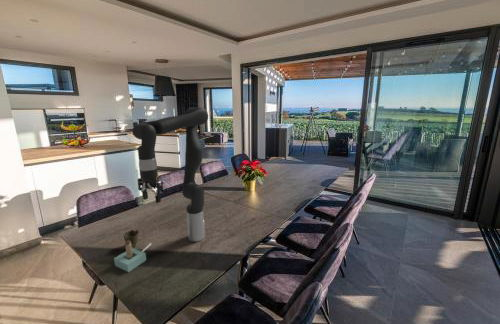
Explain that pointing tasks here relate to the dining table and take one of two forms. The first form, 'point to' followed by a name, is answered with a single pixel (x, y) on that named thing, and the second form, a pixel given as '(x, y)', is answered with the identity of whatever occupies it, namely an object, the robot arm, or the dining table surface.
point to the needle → (128, 250)
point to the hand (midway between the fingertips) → (151, 200)
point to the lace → (146, 247)
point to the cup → (131, 237)
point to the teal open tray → (130, 264)
